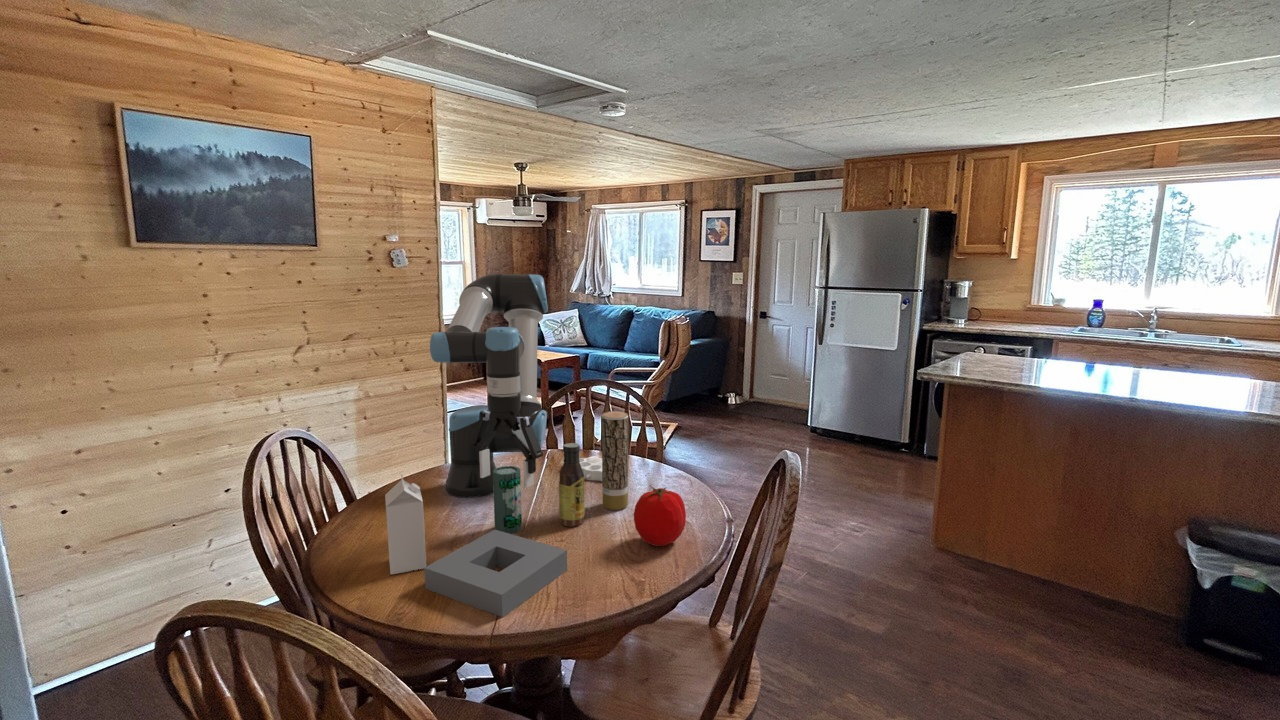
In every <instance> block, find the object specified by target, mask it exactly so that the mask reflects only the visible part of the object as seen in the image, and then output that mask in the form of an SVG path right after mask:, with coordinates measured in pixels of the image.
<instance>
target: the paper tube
mask: <svg viewBox="0 0 1280 720" xmlns="http://www.w3.org/2000/svg"><path fill="white" fill-rule="evenodd" d="M601 415H602V416H601V446H602V447H601V457H602V481H601V483H602V485H601V487H602V490H601V491H602V506H603V508H605V509H606V510H610V511H620V510H624V509H625V508H627V507H628V505H629V414H628V413H626V412H623V411H617V410H616V411H606V412H603V413H602V414H601Z"/></svg>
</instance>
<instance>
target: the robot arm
mask: <svg viewBox="0 0 1280 720" xmlns="http://www.w3.org/2000/svg"><path fill="white" fill-rule="evenodd" d="M545 284H546V283H545V280H544V277H543V276H542V275H541V274H530V273H526V274H525V273H524V274H523V273H520V274H519V273H517V274H515V273H513V274H510V273H508V274H507V273H506V274H505V273H504V274H502V273H499V274H498V273H492V274H487V275H484V276H481V277H479V278H477V279H475V280H473V281H471V282H470V283H469V284H468V285H466V286H465V288H464V289H463V290H462V291H461V293H460V296H459V301H458V304H459V306H458V307H457V309H456V311H455V313H454V315H453V318H452V319H451V322H450V323H449V326H448V328H447V330H446V331H441V332H439V331H438V332H434V333H432V334H431V337H430V341H429V351H430V357H431V359H432V361H433V362H435V363H443V364H444V363H445V364H451V363H452V364H454V363H456V364H457V363H463V364H464V363H465V364H467V363H486V383H487V384H486V385H487V393H488V395H487V404H486V405H485V404H479V405H472V406H467V407H463V408H459V409H458V410H456V411H454V412H452V413H451V414H450V416H449V426H448V427H449V428H448V432H449V445H450V446H449V447H450V449H449V451H450V467H449V469H448V475H447V478H446V480H445V492H446V493H447V494H448V495H450V496H453V497H458V498H476V497H477V498H478V497H483V496H487V495H490V494H492V493H493V494H494V492H493V470H494V469H496V468H497V465H496V464H495V461H494V460H495V459H494V453H496V454H498V453H499V454H500V453H522V454H523V456H524V457H525V459H524V460H523V488H525V489H527V488H530V487H531V486H534V485H535V473H536V471H537V462H536V461H537V459H538V458H541V457H543V456H544V452H543V450H542V447H543V445H544V441H545V436H546V430H547V419H548V413H547V411H546V410H545V409H543V408H542V407H543V406H542V403H541V402H540V401H539V400H538V398H537V395H538V394H537V392H538V333H539V332H538V329H539V322H541V321H542V320H543V319H544V314H546V313H548V312H549V309H548V307H549V306H548V299H547V294H546V286H545ZM491 313H492V314H493V313H499V314H500V313H502V314H503V319H505V320H506V321H507V322H508V326H494V327H489V328H487V329H486V331H480V330H481V327H482V324H483V323H484V321H485V320H484V319H485V318H486V316H488V315H489V314H491Z"/></svg>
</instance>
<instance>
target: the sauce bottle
mask: <svg viewBox="0 0 1280 720" xmlns="http://www.w3.org/2000/svg"><path fill="white" fill-rule="evenodd" d="M580 448H581V447H580V444H579V443H576V442H571V443H570V442H569V443H568V442H567V443H565V444H563V446H562V449H563V450H562V452H563V464H562V466H561V467H560V469H559V473H558V474H559V476H558V477H559V482H558V514H559V522H560V524H561V525H562V526H565V527H577V526H580V525H582V524H583V523H584V521H585V518H584V517H585V478H584V473H583V471H582V468H581V465H580V462H579V461H580V460H579V458H580V451H581V449H580Z"/></svg>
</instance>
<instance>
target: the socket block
mask: <svg viewBox="0 0 1280 720" xmlns="http://www.w3.org/2000/svg"><path fill="white" fill-rule="evenodd" d="M496 567H499V568H502V570H500V571H497V570H494V569H495V568H496ZM423 571H424V586H425V588H426V589H425V590H427V589H428V591H430V590H431V592H433V593H435V592H436V594H438V595H441V596H443V595H444V597H447V598H449V599H452V600H454V601H458V602H460V603H462V604H465V605H467V606H470V607H473V608H476V609H478V610H481V611H483V612H486V613H490V614H492V615H495V616H497V617H500V618H504V617H505V616H507V615H508V614H509V613H511V612H512V611H513V610H515V609H516V608H518V607H519V606H521V605H522V604H523V603H525V602H526V601H527V600H529V599H530V598H531V597H533V596H534V595H535V594H537V593H538V592H539V591H542V589H544V588H545V587H547V585H549V584H551V583H552V582H554V580H556V579H557V578H559V577H560V576H561V575H563V574H564V573H565V572H567V571H568V550H567V549H564V548H560V547H557V546H555V545H550V544H548V543H547V544H546V543H544V542H540V541H536V540H533V539H531V538H530V539H529V538H525V537H521V536H519V535H516V534H509V533H505V532H502V531H498V530H495V529H493V530H491V531H489V532H488V533H485V534H484V535H482V536H480V537H478V538H476V539H474V540H473V541H470V542H468V543H467V544H465V545H464V546H461V547H460V548H458V549H456V550H454V551H452V552H450V553H449V554H446V555H445V556H443V557H442V558H439V559H438V560H436V561H434V562H432V563H430V564H429V565H426V567H425V568H424V569H423Z"/></svg>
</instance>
